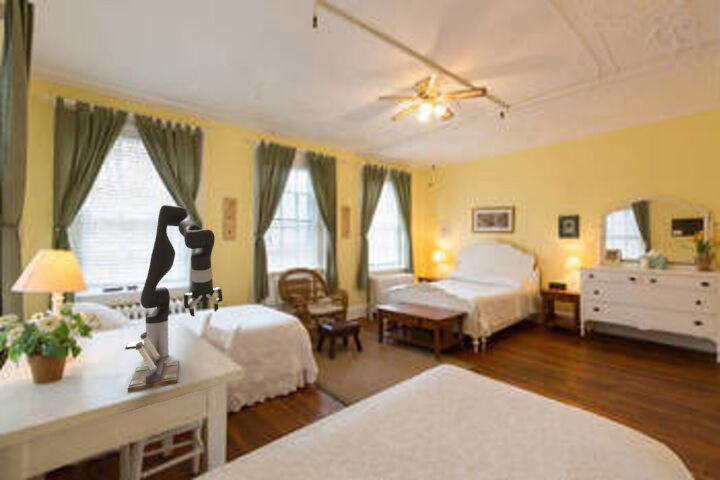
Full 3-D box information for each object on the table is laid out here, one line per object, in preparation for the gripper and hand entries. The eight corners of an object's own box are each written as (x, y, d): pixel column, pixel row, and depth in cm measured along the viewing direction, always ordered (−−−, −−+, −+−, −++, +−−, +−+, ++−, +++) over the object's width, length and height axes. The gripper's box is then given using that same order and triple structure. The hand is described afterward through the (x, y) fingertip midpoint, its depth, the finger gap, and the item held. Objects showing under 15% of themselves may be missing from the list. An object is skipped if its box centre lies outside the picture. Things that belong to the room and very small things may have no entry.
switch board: (127, 392, 119) (127, 380, 119) (136, 370, 137) (136, 360, 137) (177, 382, 126) (176, 371, 126) (179, 363, 145) (179, 354, 145)
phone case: (124, 350, 163) (161, 345, 171) (124, 347, 163) (161, 342, 171) (128, 345, 171) (162, 340, 179) (128, 342, 171) (162, 337, 179)
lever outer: (151, 374, 123) (134, 347, 121) (153, 370, 127) (136, 343, 124) (156, 371, 124) (139, 344, 122) (157, 367, 128) (141, 341, 125)
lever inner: (155, 361, 136) (140, 336, 133) (156, 358, 139) (141, 334, 137) (160, 359, 137) (144, 334, 134) (161, 356, 140) (145, 331, 137)
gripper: (218, 271, 135) (220, 305, 140) (180, 277, 127) (183, 313, 132) (223, 278, 130) (224, 313, 134) (183, 284, 121) (186, 321, 126)
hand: (204, 313), depth 133 cm, fingers open, 8 cm apart
